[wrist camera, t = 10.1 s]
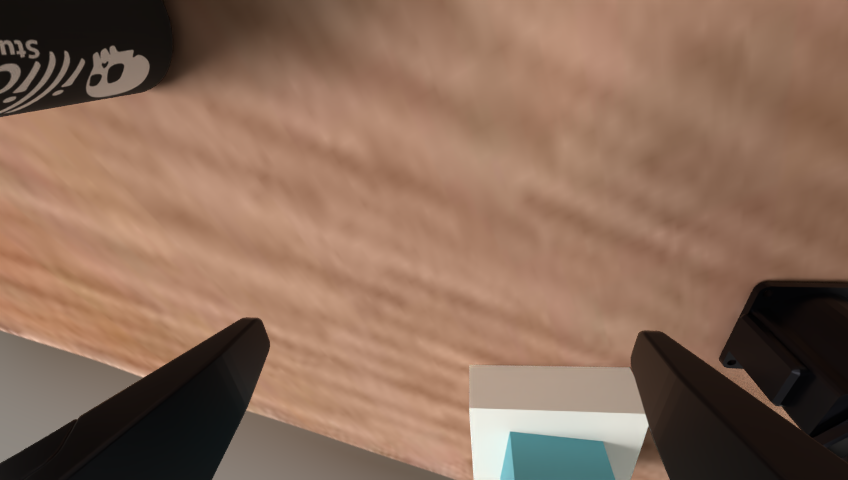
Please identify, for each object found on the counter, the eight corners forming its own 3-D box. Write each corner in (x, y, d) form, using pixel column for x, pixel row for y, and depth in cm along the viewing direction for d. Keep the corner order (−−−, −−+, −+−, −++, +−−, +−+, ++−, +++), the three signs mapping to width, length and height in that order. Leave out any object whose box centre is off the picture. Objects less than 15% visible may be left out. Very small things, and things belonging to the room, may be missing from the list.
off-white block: (626, 361, 25) (652, 414, 21) (604, 452, 30) (621, 505, 27) (469, 359, 27) (469, 408, 23) (474, 445, 32) (474, 495, 28)
